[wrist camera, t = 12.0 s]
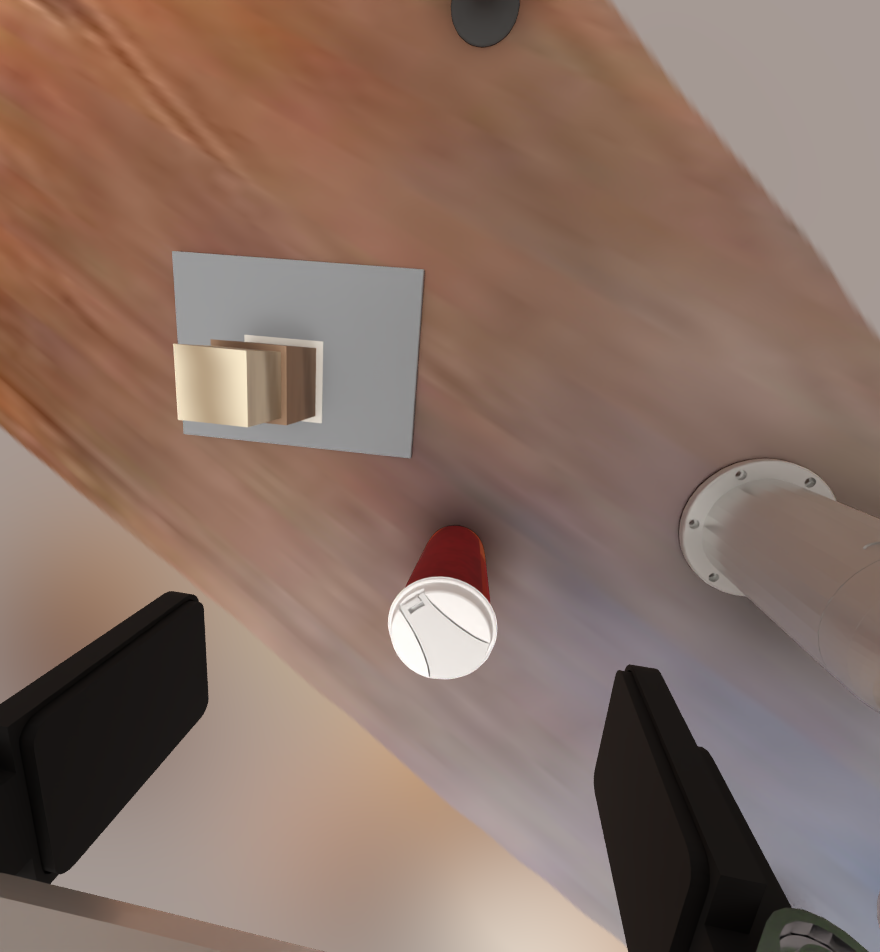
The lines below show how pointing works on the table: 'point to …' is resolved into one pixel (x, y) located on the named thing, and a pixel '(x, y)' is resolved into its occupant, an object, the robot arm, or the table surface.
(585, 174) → the table surface
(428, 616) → the paper cup
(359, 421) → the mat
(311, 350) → the walnut block
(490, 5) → the sundae
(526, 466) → the table surface
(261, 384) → the birch block
